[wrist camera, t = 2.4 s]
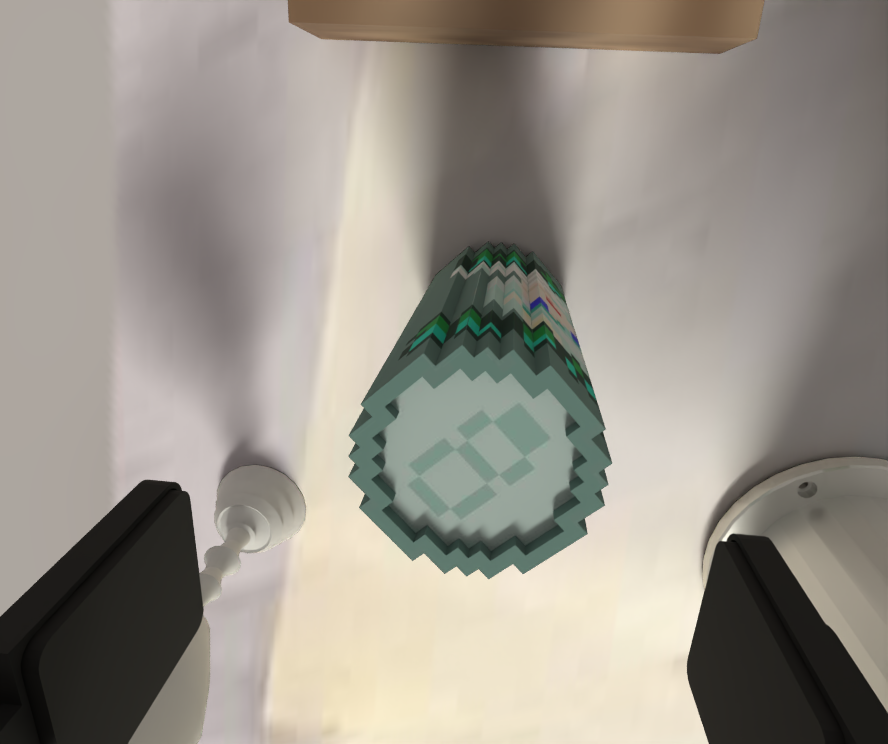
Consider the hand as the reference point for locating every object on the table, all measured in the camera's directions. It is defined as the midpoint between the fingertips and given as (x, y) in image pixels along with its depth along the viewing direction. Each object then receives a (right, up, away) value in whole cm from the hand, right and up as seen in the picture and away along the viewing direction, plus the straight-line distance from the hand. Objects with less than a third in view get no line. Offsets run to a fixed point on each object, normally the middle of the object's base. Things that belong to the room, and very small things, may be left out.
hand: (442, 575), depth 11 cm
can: (+2, +7, +18) cm, 19 cm away
